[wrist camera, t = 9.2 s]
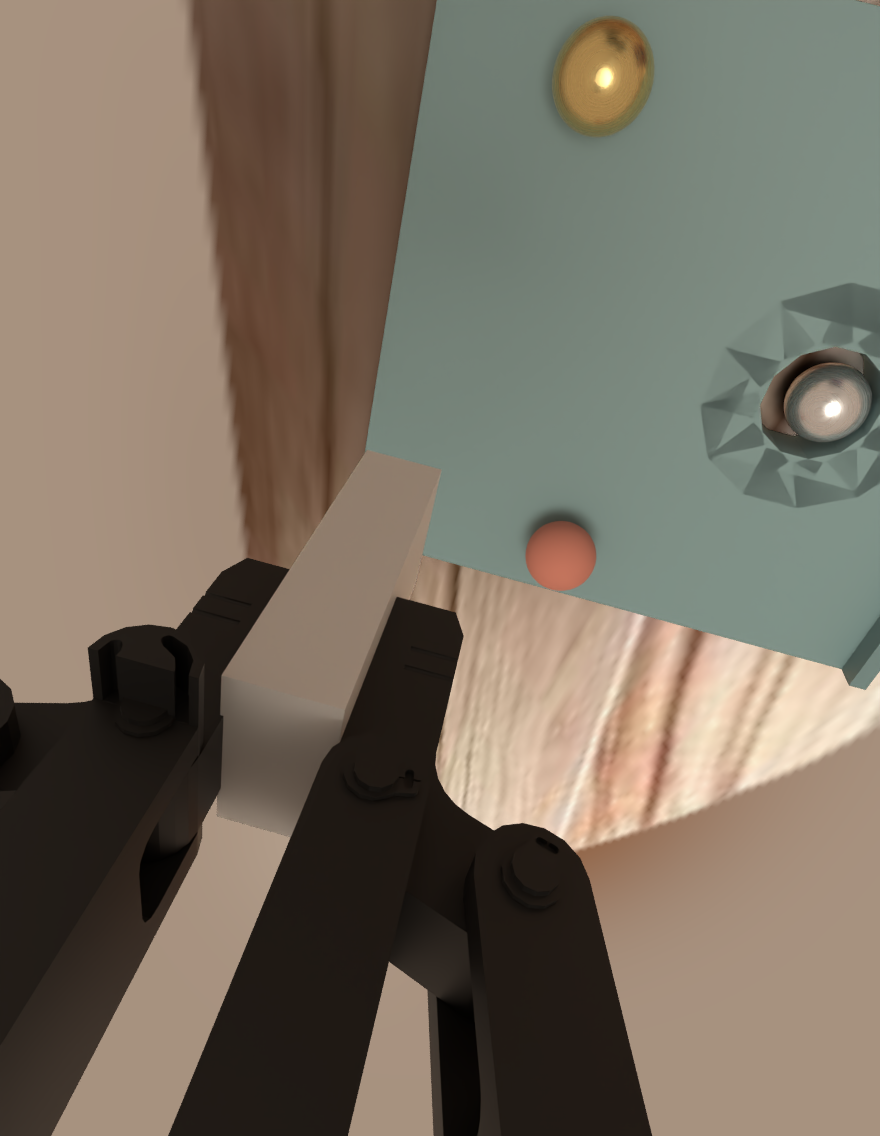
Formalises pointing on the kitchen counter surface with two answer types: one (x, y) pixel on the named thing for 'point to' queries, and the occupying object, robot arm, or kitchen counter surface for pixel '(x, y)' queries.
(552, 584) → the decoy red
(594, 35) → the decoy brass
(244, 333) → the kitchen counter surface
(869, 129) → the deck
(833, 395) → the steel ball
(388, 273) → the kitchen counter surface
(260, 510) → the kitchen counter surface
